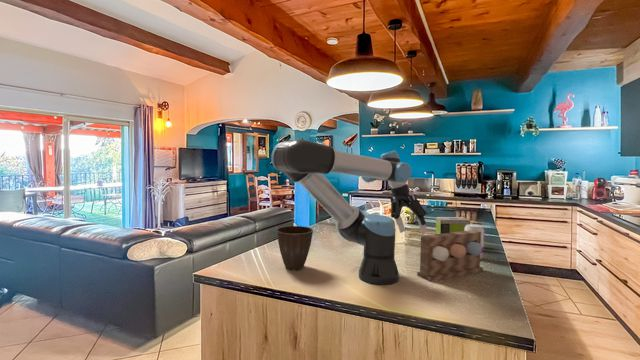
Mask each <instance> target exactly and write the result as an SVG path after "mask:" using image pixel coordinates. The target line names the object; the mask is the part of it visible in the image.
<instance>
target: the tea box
mask: <svg viewBox="0 0 640 360" xmlns="http://www.w3.org/2000/svg"><path fill="white" fill-rule="evenodd" d="M467 224H471V220H470V219H468V218H466V217H463V216H459V217H458V216H457V217H454V216H436V218H435V234H443V233H452V232H460V231H464V230H465V227H466V225H467Z"/></svg>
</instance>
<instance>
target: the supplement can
mask: <svg viewBox="0 0 640 360" xmlns="http://www.w3.org/2000/svg"><path fill="white" fill-rule="evenodd" d="M469 230H475V231H479V232H481V246H482V251H481V253H480V260H482V259H483V258H484V247H485V246H484V244H485V243H484V242H485V241H484V240H485V228H484V226H483V225H481V224H475V223H474V224H471V223H470V224H467V225H466V227H465V230H464V231H469Z"/></svg>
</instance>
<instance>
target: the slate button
mask: <svg viewBox="0 0 640 360" xmlns="http://www.w3.org/2000/svg"><path fill="white" fill-rule="evenodd" d="M481 251H482V246H481V244H480V243H476V242H473V241H467V253H469V254H473V255H476V256H478V255H480V253H481Z"/></svg>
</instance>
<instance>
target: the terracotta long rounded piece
mask: <svg viewBox="0 0 640 360" xmlns="http://www.w3.org/2000/svg"><path fill="white" fill-rule="evenodd" d="M465 253H466V249H465V247H464V246H462V245H459V244H455V243H453V244H450V255H451V256H454V257H457V258H463V257H464V256H465Z"/></svg>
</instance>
